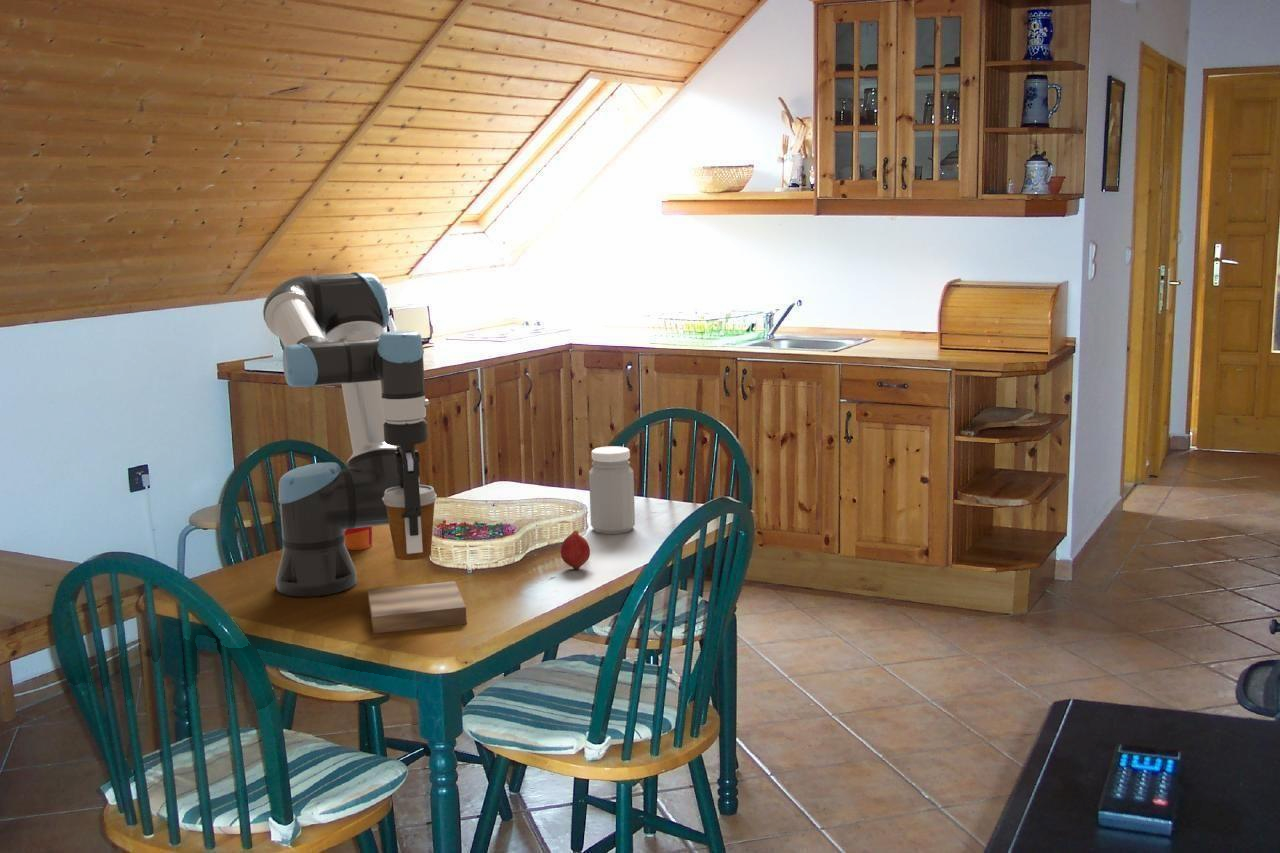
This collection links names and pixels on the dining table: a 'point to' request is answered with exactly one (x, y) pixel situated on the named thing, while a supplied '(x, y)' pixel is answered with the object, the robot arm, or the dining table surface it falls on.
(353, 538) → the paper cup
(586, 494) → the dining table surface
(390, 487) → the robot arm
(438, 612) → the square wooden board
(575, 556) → the onion
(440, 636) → the dining table surface
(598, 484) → the jar
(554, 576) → the dining table surface
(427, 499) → the disposable coffee cup
